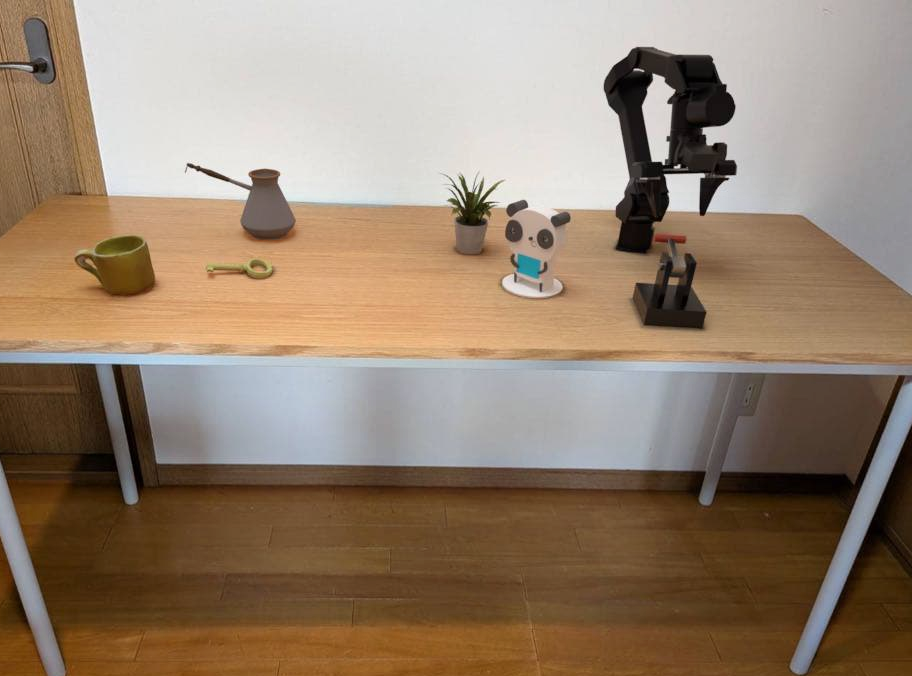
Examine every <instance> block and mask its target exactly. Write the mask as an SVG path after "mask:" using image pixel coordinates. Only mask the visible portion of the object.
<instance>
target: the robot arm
mask: <svg viewBox="0 0 912 676" xmlns="http://www.w3.org/2000/svg"><path fill="white" fill-rule="evenodd" d="M654 75H656V76H659V77H662V78H664V81H663V82H664V83H665V85H667V86H669V87H670V89H672V90H674V92H673V94H672V95H671V96H670V97H669V98H668V99H667V101H666V104H667V105H671V114H670V128H669V129H670V131H669V135H666V140H665V142H666V143H667V142H669V143H668V156H667V157H668V158H665V159H664V164H663V161H653V160H652V153H651V149H650V143H649V138H648V132H647V127H646V121H645V116H644V111H643V105H644V103H645V101H646V99H647V96H648V89H649V87H650V86H651V85H652V84H653V82H654ZM727 87H728V84H727V83H723V82H722V80H721V78H720V76H719V72H718V70H717V67H716V63H715V62H714V58H713V57H712V55H710V54H676V53H672V52H669V51H664V50H662V49H661V50H660V49H658V48H656V47H654V46H635V47H633V48H631V49H630V51H629V53H627V55H626V56H625V57H623V58H622V59H621V60H619V61H618V62H616V63H615V64H614V65H613V66H611V68H610V69H609V72H608V73H607V75H606V76H605V78H604V81H603V92H604V95H605V98H606V101H607V105H608V107H610V109H612V111H613V112H614V113H615V114H616V115H617V116H618V121H619V126H620V133H621V138H622V144H623V148H624V154H625V161H626V167H627V171H628V178H629V180H628V181H627V184H626V186H625V189H624V191H623V192H624V193H623V196H624V197H623V198H622V199H621V200H620V201H619V202H618V203H617V204H616V206H615V217H616V218H617V219H618V220H619V221H621V223H620V228H619V233H618V234H619V235H618V240H617V243H616V245H615V248H614V249H615V250H618V251H619V250H620V251H624V252H631V253H636V254H645V255H646V254H647V253H648V250H651V248H652V246H653V243H654V242H653V237H654V234H655V232H656V226H654V224H655V223H656V222H657V223H662V221H663V219H664V218H665V215H666V213H667V211H668V208H669V206H670V196H669V193H670V191H669V189H668V184H667V178H666V176H665V175H691V174H693V175H694V174H704V177H700V179H699V201H698V203H699V204H698V210H699V216H700V217H704V216H706V213H707V211H708V208H709V206H710V204H711V202H712V200H713V197H714V195H715V194H716V192H717V190H718V188H719V187H720V186H721V185H722V184H724V182H726V181H727V182H729V180H730V177H731V176H732V177H733V176H737V173H738V172H737V171H738V165H737V163H736V160H735V159H727V156H728V144H727V143H725V142H723V141H722V142H714V143H713V145H711V144H710V145H708V144H707V140H708V139H707V134H703V133H704V129H705V128H717V127H723V126H725V125H727V124H729V122H730V121H732V119H733V117H734V116H735V113H736V108H737V107H736V106H737V105H736V104H735V100H734V97H733V95H732V94H731V93H730V92H728V91H727ZM678 166H679V167H678ZM729 176H730V177H729Z"/></svg>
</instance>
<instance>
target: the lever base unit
mask: <svg viewBox="0 0 912 676" xmlns="http://www.w3.org/2000/svg"><path fill="white" fill-rule="evenodd" d="M683 257H684V260H685V263H686V270H685V273H684V276H683V278H678V281H677V284H671V283H670V284H669V281H670V278H671V277H670V273H671V268H672V264H673V261H672V259H671V257H670V255H669V251H661V253H660V257H659V262H658V264H657V265H658V266H657V272H656V277H655V281H654V283H651V282H649V283H648V282H635V284H634V291H633V293H632V301H633V303H634V306H635V308H636V311H637V313H638V315H639V318H640V320H641V322H642V325H643V326H647V327H663V328H664V327H665V328H680V329H698V330H699V329H701V330H703V328H704V327H703V326H704V324H705V319H706V316H707V310H706V308H705V307H704V304H703V303H702V301H701V300H700V299H699V297H698V295H697V293H696V292H695V290H694V288H693V287H692V285H693V280H694V278H695V277H694V276H695V272H696V269H697V264H698V263H697V261H696V259H695V258H694V256H693V255H692V253H688V252H685V253H684V256H683Z"/></svg>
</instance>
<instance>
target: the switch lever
mask: <svg viewBox="0 0 912 676" xmlns="http://www.w3.org/2000/svg"><path fill="white" fill-rule="evenodd" d="M686 242H687V235H682V234H681V235H680V234H678V235H677V234H661V233H654V237H653V242H652V243H659V244H660V243H662V244H666V246H667V250H668V251H667V252H668V254H669V256H670V257H671V259H672V261H673V264H672V268H671V273H670V277H669V278H674V279H679V278H683V276H684V273H685V270H686V263H685V260H684V256H679V253H678V249H677V245H676V244H680V245H685V244H686Z"/></svg>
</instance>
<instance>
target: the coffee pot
mask: <svg viewBox="0 0 912 676" xmlns="http://www.w3.org/2000/svg"><path fill="white" fill-rule="evenodd" d="M188 168H189V169H193V170H195V171H196V172H197V173H198V172H201V173H202V174H205V175H206V176H208V177H211V178H214V179H218V180H220V181H223V182H226V183H230V184H233V185H235V186H238V187H240V188H243V189H245V190H247V191H249V192H248V196H247V199H246V202H245V205H244V208H243V211H242V214H241V217H240V225H241V227H242V229H243V230H244V231H245V232H246V233H247V234H249V235H250V237H252V238H254V239H256V240H262V241H274V240H279V239H283V238H285V237H287V236H288V234H289V233H290V232H291V231H292V230H293V229H294V227H295V225H296V222H297V219H296V216H295V215H294V213H293V211H292V209H291V207H290V205H289V203H288V201H287V199H286V197H285V195H284V193H283V191H282V189H281V187H280V184H279V177H281V172H280V171H279V170H276V169H272V168H259V169H254V170H250V171H249V172H248V174H247V175H248V177H249V178H250V180H251V182H252V184H251V185H250V184H248V183H247V184H246V183H244V182H241V181H238V180H236V179H232V178H230V177H228V176H226V175H224V174H221V173H219V172H217V171H214V170H213V169H208V168H204V167H201V165H194V164H193V163H190V162H187V163H186V167H185V169H184V174H186V173H187V172H188V171H187V170H188Z"/></svg>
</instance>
